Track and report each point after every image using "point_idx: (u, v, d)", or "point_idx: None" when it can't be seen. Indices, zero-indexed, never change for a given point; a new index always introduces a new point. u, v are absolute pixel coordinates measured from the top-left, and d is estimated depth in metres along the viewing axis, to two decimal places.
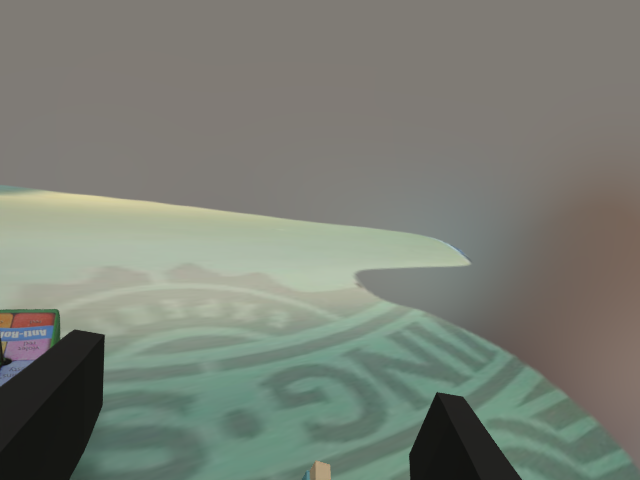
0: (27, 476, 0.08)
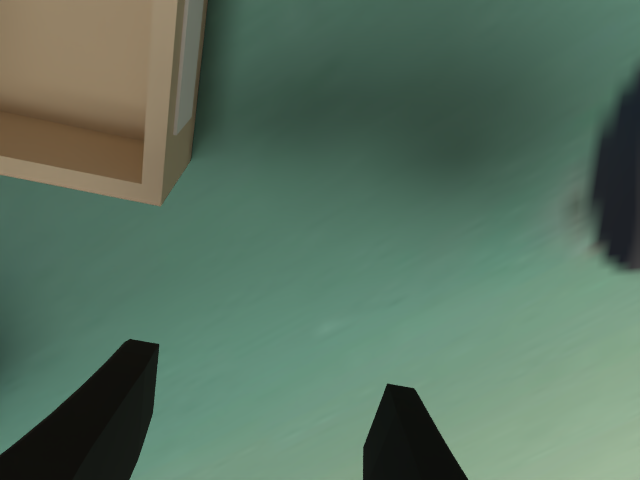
0: None
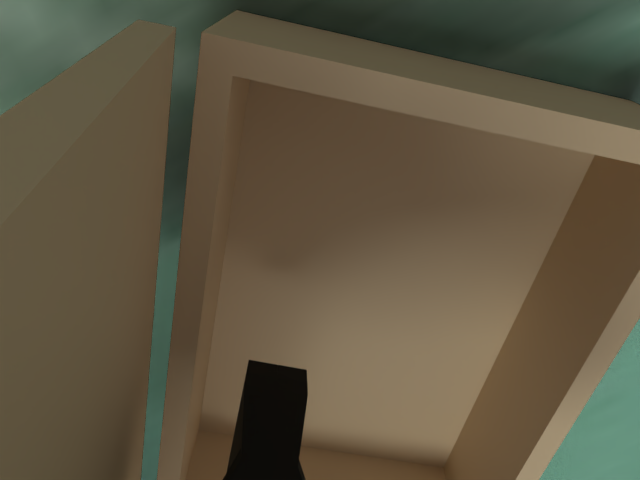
0: None
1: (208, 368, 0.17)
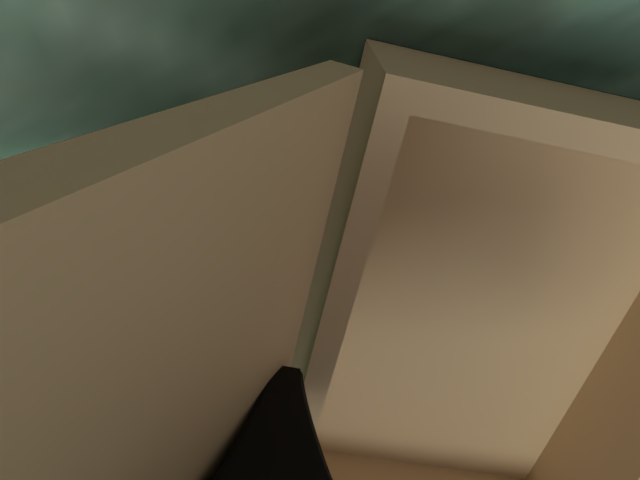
0: None
1: None
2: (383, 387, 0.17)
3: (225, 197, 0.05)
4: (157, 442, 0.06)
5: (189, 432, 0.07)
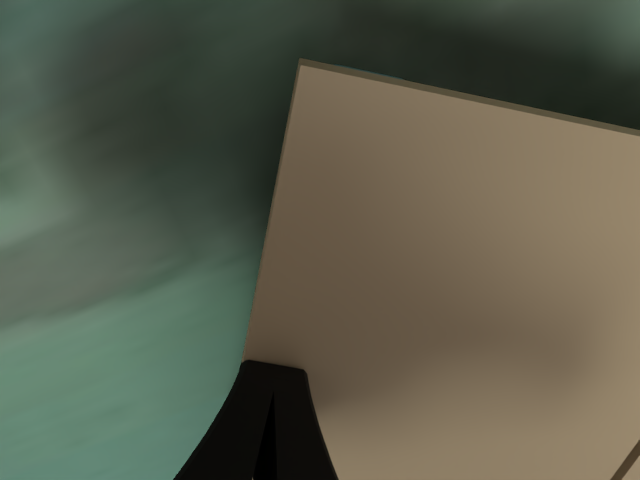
0: None
1: None
2: None
3: (593, 171, 0.09)
4: (493, 289, 0.10)
5: (516, 318, 0.11)
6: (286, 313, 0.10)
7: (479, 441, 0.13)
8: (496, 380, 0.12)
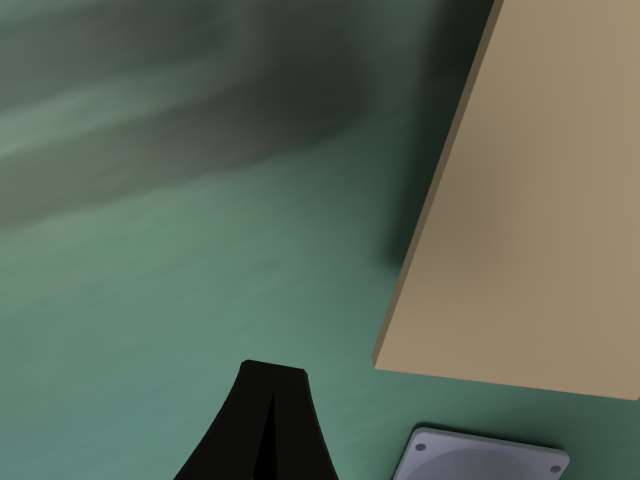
0: None
1: None
2: None
3: None
4: None
5: None
6: (494, 100, 0.13)
7: (621, 235, 0.16)
8: None
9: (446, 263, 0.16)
